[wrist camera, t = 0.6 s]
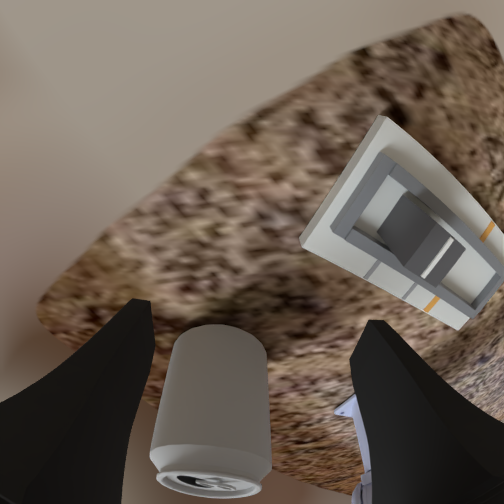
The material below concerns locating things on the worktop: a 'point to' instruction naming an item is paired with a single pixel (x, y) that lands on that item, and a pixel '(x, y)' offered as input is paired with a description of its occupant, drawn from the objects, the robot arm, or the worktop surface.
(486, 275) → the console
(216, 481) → the can
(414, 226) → the fader
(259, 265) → the worktop surface
